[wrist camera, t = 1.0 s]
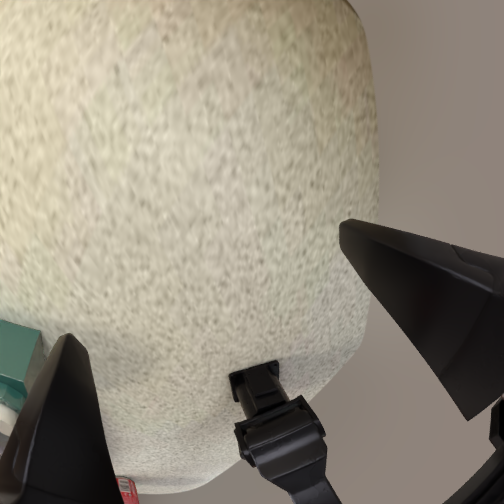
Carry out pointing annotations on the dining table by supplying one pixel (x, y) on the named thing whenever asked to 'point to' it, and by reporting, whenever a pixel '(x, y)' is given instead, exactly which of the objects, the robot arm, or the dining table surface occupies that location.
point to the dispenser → (18, 363)
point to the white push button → (7, 419)
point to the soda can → (127, 490)
